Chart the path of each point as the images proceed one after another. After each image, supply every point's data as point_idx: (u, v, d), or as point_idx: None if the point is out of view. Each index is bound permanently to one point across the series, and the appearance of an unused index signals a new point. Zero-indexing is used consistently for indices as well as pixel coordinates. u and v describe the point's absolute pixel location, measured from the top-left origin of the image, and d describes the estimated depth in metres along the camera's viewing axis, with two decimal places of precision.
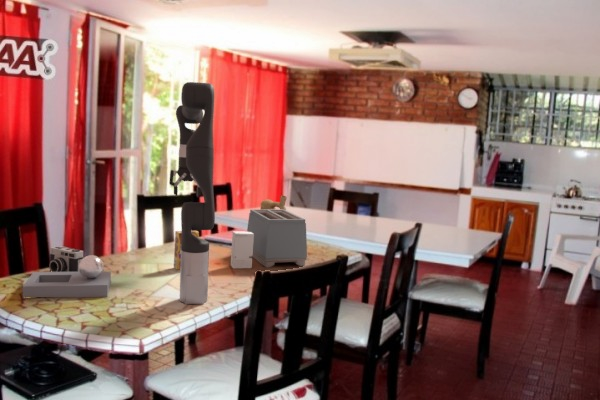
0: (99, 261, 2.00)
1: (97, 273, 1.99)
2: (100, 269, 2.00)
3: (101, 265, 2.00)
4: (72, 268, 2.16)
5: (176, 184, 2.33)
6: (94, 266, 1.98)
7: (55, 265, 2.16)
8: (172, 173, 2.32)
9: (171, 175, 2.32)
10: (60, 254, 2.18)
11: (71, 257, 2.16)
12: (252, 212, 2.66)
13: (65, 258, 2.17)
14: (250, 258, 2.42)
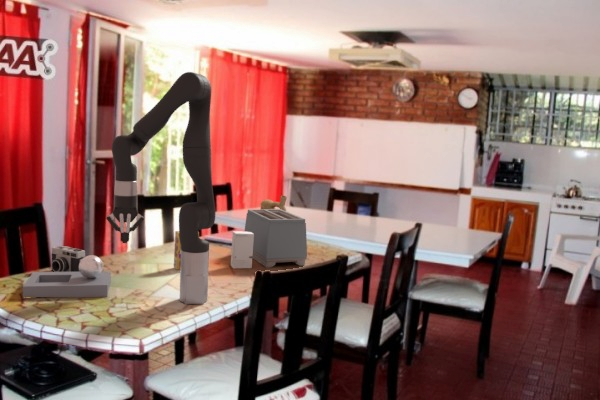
0: (99, 261, 2.00)
1: (97, 273, 1.99)
2: (100, 269, 2.00)
3: (101, 265, 2.00)
4: (74, 267, 2.17)
5: (122, 229, 2.01)
6: (94, 266, 1.98)
7: (57, 265, 2.17)
8: (109, 219, 1.99)
9: (110, 222, 1.99)
10: (62, 254, 2.19)
11: (73, 257, 2.17)
12: (250, 212, 2.65)
13: (67, 258, 2.17)
14: (250, 258, 2.42)
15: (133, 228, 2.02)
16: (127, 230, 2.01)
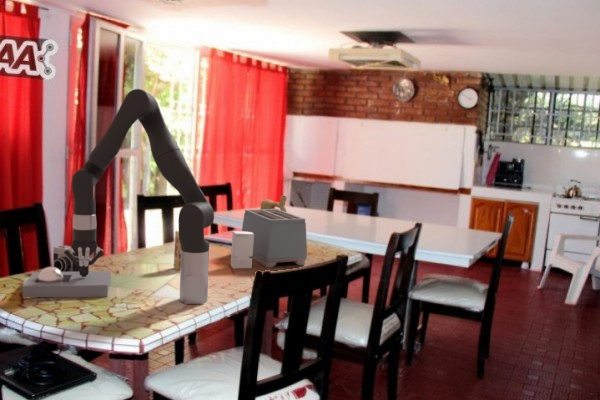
0: (40, 273, 1.96)
1: (52, 272, 1.96)
2: (47, 271, 1.96)
3: (43, 271, 1.96)
4: (76, 267, 2.18)
5: (81, 263, 1.99)
6: (44, 278, 1.94)
7: (59, 264, 2.18)
8: (68, 253, 1.98)
9: (69, 255, 1.98)
10: (64, 253, 2.20)
11: (75, 256, 2.18)
12: (248, 212, 2.64)
13: None
14: (250, 258, 2.42)
15: (92, 262, 2.00)
16: (86, 264, 1.99)
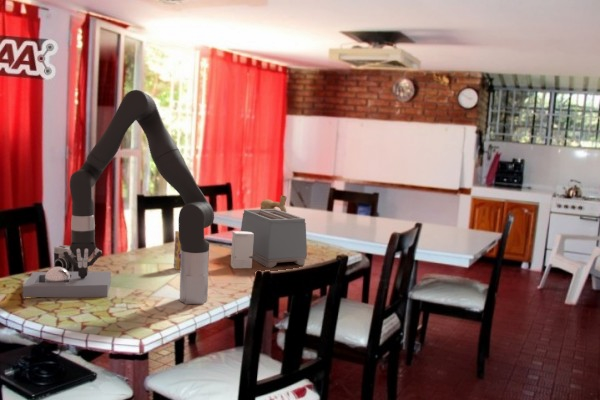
0: (52, 270, 1.97)
1: (63, 275, 1.97)
2: (60, 271, 1.97)
3: (56, 269, 1.97)
4: (77, 267, 2.18)
5: (80, 264, 1.99)
6: (53, 276, 1.95)
7: (60, 264, 2.18)
8: (66, 254, 1.97)
9: (67, 257, 1.97)
10: None
11: None
12: (247, 212, 2.64)
13: None
14: (250, 258, 2.42)
15: (91, 263, 1.99)
16: (85, 265, 1.99)
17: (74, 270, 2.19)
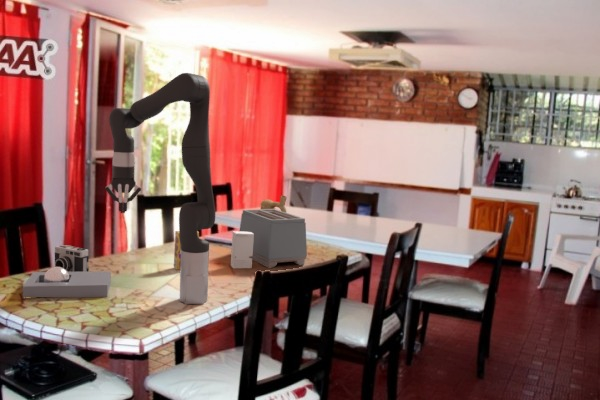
0: (50, 270, 1.97)
1: (61, 274, 1.96)
2: (58, 271, 1.97)
3: (54, 269, 1.97)
4: (77, 266, 2.19)
5: (120, 199, 2.09)
6: (52, 276, 1.95)
7: (60, 264, 2.19)
8: (108, 189, 2.07)
9: (109, 192, 2.07)
10: (65, 253, 2.21)
11: (76, 256, 2.18)
12: (246, 213, 2.63)
13: (70, 257, 2.19)
14: (250, 258, 2.42)
15: (131, 198, 2.10)
16: (125, 200, 2.09)
17: (75, 270, 2.19)
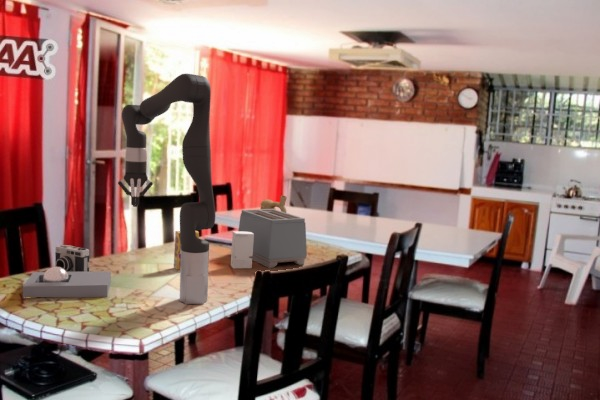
0: (49, 270, 1.96)
1: (60, 274, 1.96)
2: (57, 271, 1.96)
3: (53, 269, 1.97)
4: (78, 266, 2.19)
5: (133, 193, 2.14)
6: (51, 276, 1.95)
7: (61, 263, 2.19)
8: (121, 184, 2.13)
9: (122, 186, 2.13)
10: (66, 253, 2.21)
11: (77, 255, 2.19)
12: (245, 213, 2.63)
13: (71, 256, 2.19)
14: (250, 258, 2.42)
15: (143, 192, 2.15)
16: (137, 194, 2.15)
17: (76, 270, 2.20)
